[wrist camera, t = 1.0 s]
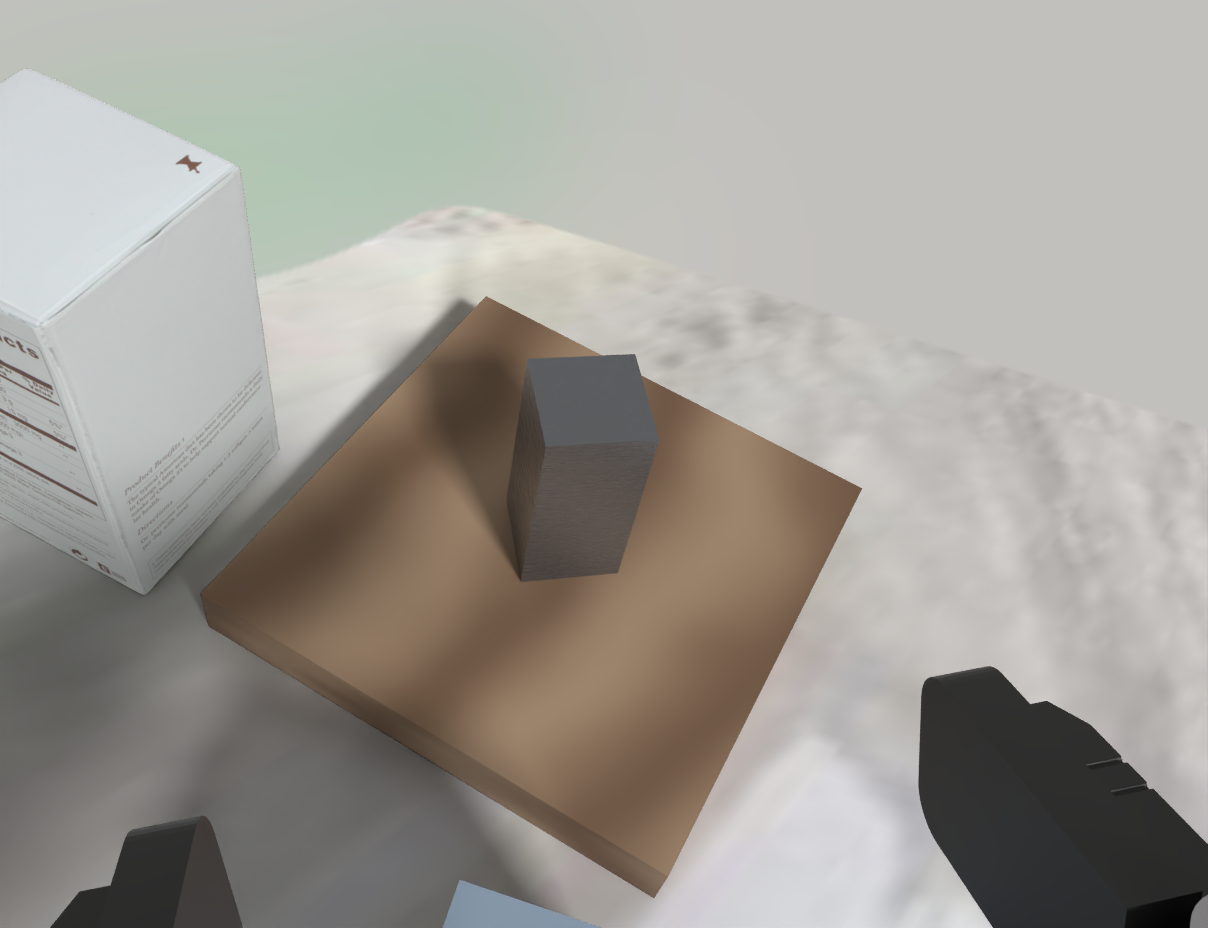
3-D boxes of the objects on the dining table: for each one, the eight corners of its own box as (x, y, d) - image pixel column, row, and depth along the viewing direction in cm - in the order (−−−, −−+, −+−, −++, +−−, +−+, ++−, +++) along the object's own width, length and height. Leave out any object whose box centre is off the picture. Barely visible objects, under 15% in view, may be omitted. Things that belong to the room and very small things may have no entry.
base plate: (208, 625, 34) (200, 593, 33) (482, 332, 44) (486, 296, 42) (654, 898, 31) (667, 876, 30) (843, 519, 41) (862, 488, 39)
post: (465, 550, 35) (479, 411, 30) (542, 452, 38) (567, 309, 33) (587, 619, 34) (625, 489, 29) (656, 514, 37) (702, 378, 32)
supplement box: (118, 363, 40) (29, 55, 30) (286, 452, 39) (251, 162, 29) (-43, 501, 36) (-209, 193, 26) (141, 606, 34) (41, 325, 25)
